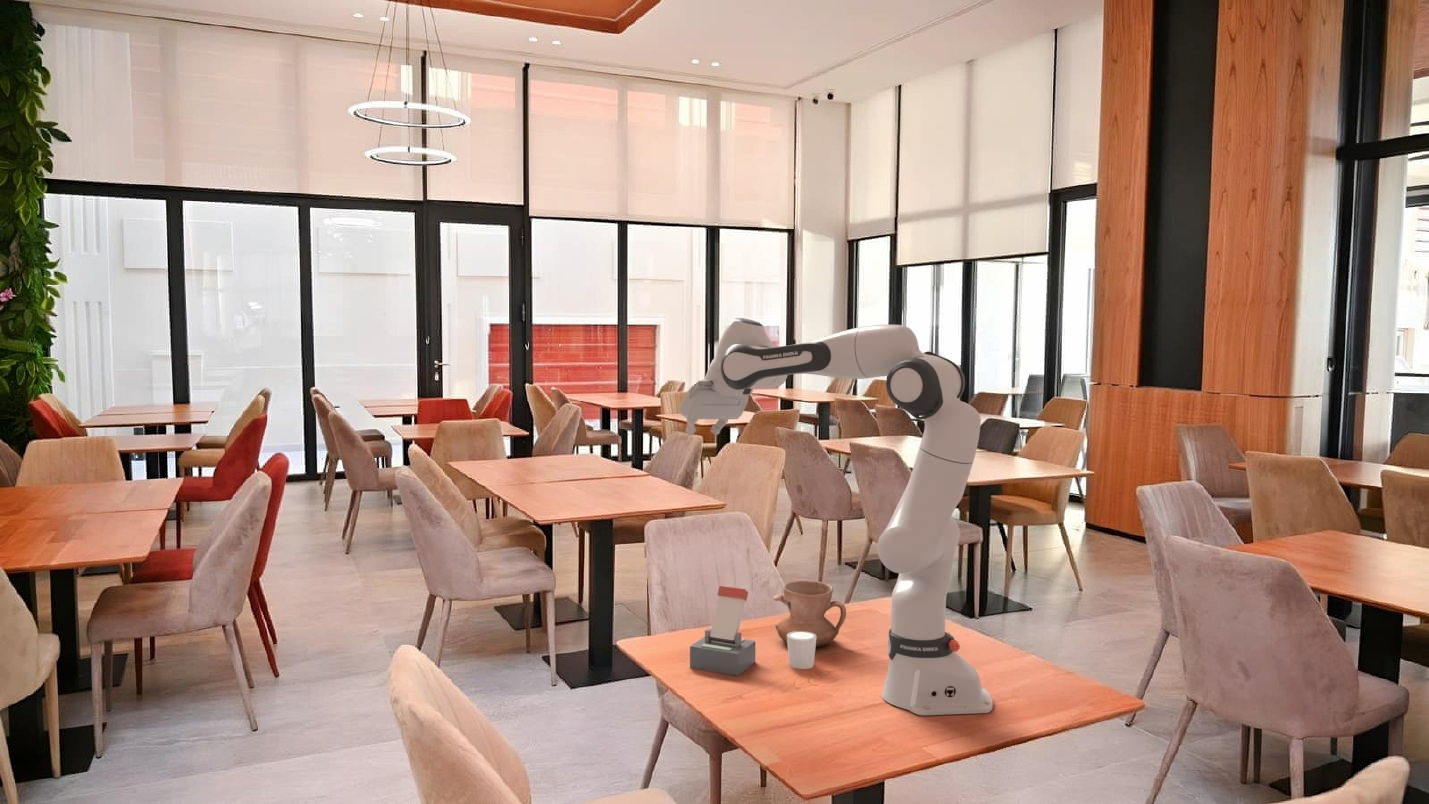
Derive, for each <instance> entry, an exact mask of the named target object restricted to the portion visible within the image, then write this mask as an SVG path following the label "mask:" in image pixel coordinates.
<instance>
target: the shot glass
mask: <svg viewBox="0 0 1429 804" xmlns="http://www.w3.org/2000/svg"><path fill="white" fill-rule="evenodd" d="M816 638H817V636H816V634H814V633H811V632H806V631H795V632H790V633H788V634H787V642H786V643H787V655H788V665H789V667H791V668H792V669H796V668H797V670H808V669H811V668H813V667H814V665H815V656H816Z"/></svg>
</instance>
